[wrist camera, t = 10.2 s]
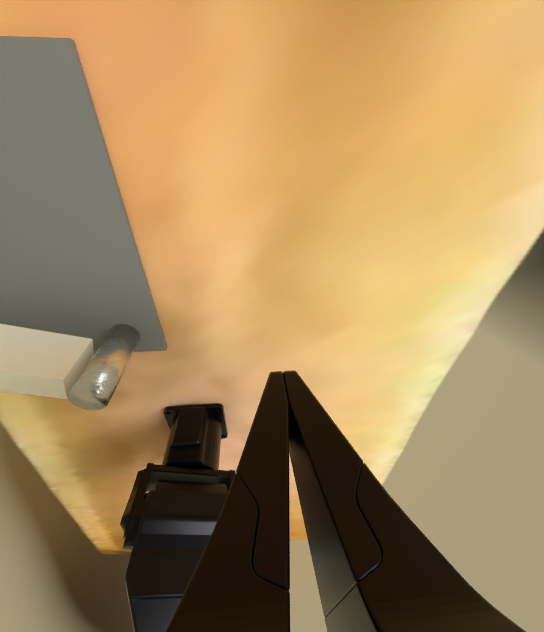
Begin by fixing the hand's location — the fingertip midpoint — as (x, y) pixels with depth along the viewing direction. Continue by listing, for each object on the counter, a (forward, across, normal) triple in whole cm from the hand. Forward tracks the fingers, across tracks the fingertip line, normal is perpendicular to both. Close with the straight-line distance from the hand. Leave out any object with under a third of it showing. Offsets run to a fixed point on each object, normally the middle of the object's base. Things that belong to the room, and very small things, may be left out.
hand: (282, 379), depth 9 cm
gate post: (+13, +12, +8) cm, 19 cm away
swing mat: (+13, +16, 0) cm, 21 cm away
